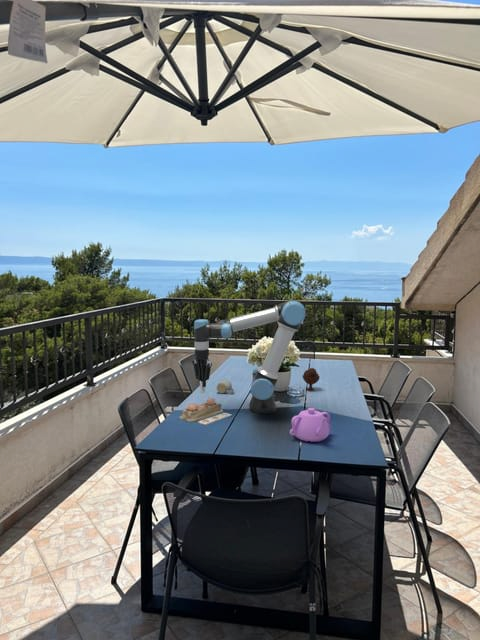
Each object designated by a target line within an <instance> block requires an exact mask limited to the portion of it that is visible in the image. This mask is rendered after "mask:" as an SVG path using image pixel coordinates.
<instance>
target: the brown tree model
mask: <svg viewBox="0 0 480 640" xmlns="http://www.w3.org/2000/svg"><path fill="white" fill-rule="evenodd" d="M302 379H303V381H304V382H305V383H306V384H308V386H309V387H308V388H306V391H307V390H308V391H307V392H315V391H314V390H315V388H313V385H314V384H316V383H317V382H318V381H319V380H320V375H319V373H318V372H317V369H316V368H314V367H310V368H309V369H307V370H304V372H303V375H302Z"/></svg>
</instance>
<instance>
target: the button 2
mask: <svg viewBox="0 0 480 640" xmlns="http://www.w3.org/2000/svg"><path fill="white" fill-rule="evenodd" d="M206 402H207V405H209V406H213V405H215V403H216V399H215V398H212V397H210V398H207V399H206Z"/></svg>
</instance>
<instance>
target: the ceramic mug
mask: <svg viewBox="0 0 480 640" xmlns="http://www.w3.org/2000/svg"><path fill="white" fill-rule="evenodd" d="M232 387H233V385H232V382H231V381H230V380H229V379H223V380H221V381H220V382H219V383H218V384H217V386H216V390H217V392H218V393H219V394H221V395H222V394H230V395H234V393H235V389H234V388H232Z"/></svg>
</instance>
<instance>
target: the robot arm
mask: <svg viewBox="0 0 480 640" xmlns="http://www.w3.org/2000/svg"><path fill="white" fill-rule="evenodd" d="M305 318H306V308H305V306H304V305H303V303H301V302H300V301H299V300H295V299H290V300H286V301H284V302H281V303H279V304H276V305H275V306H274V307H270V308H266V309H264V310H260V311H256V312H252V313H246V314H244V315H238V316H234V317H232V318H228V319H221V320H220V321H217V323H209V320H208V319H205V318H204V319H196V320H194V324H193V325H194V326H193V327H194V328H193V331H194V333H193V335H194V356H195V359H194V360H191V363H192V365H193V371H194V376H195V379H196V380H198V386H199V394H204V393H206V388H207V381H209V379H210V376H211V371H212V369H211V368H212V366H213V363H212V362H210V359H209V356H210V349H209V347H210V345H209V344H210V343H209V341H210V340H209V339H215V338H217V339H218V338H219V339H221V338H222V339H228V338H231V337H232V333H234V332H238V331H243V330H247V329H250V328H255V327H258V326H262V325H266V324H272V323H275V322H276V323H277V324H278V328H277V329H276V332H275V335H274V337H273V339H272V342H271V344H270V347H269V349H268V352H267V354H266V356H265V359H264V361H263V364H262V366H261V367H260V368H254V369H252V373H251V374H252V381H251V385H250V391H251V393H252V395H251V399H250V402H249V405H248V410H249V411H250V412H252V413H256V414H271V413H274V412H276V411H277V405H276V402H275V398H274V391H275V387H276V384H277V382H278V379H279V376H278V373H279V370H280V368H281V365H282V362H283V360H284V357H285V356H286V353H287V350H288V348H289V346H290V344H291V341H292V338H293V336H294V334H295V332H298V331H299V329H300V327H301V324H302V322H304V320H305Z"/></svg>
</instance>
